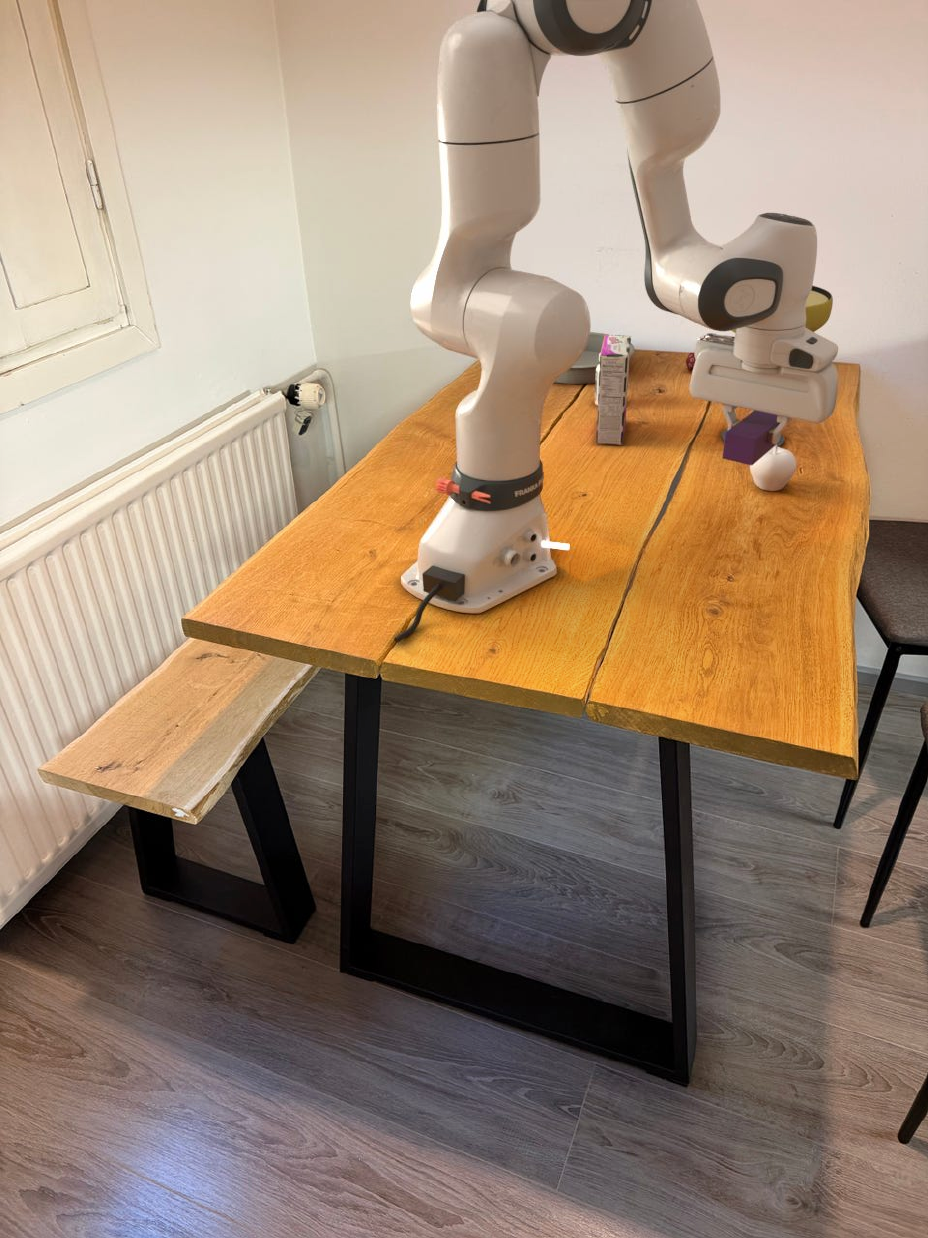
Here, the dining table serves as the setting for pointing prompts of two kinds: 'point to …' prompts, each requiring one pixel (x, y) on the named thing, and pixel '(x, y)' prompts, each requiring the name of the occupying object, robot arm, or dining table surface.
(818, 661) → the dining table surface
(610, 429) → the candy bar box
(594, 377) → the cake pan
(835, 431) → the dining table surface
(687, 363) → the dice
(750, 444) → the purple rectangular block
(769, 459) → the plain white apple
